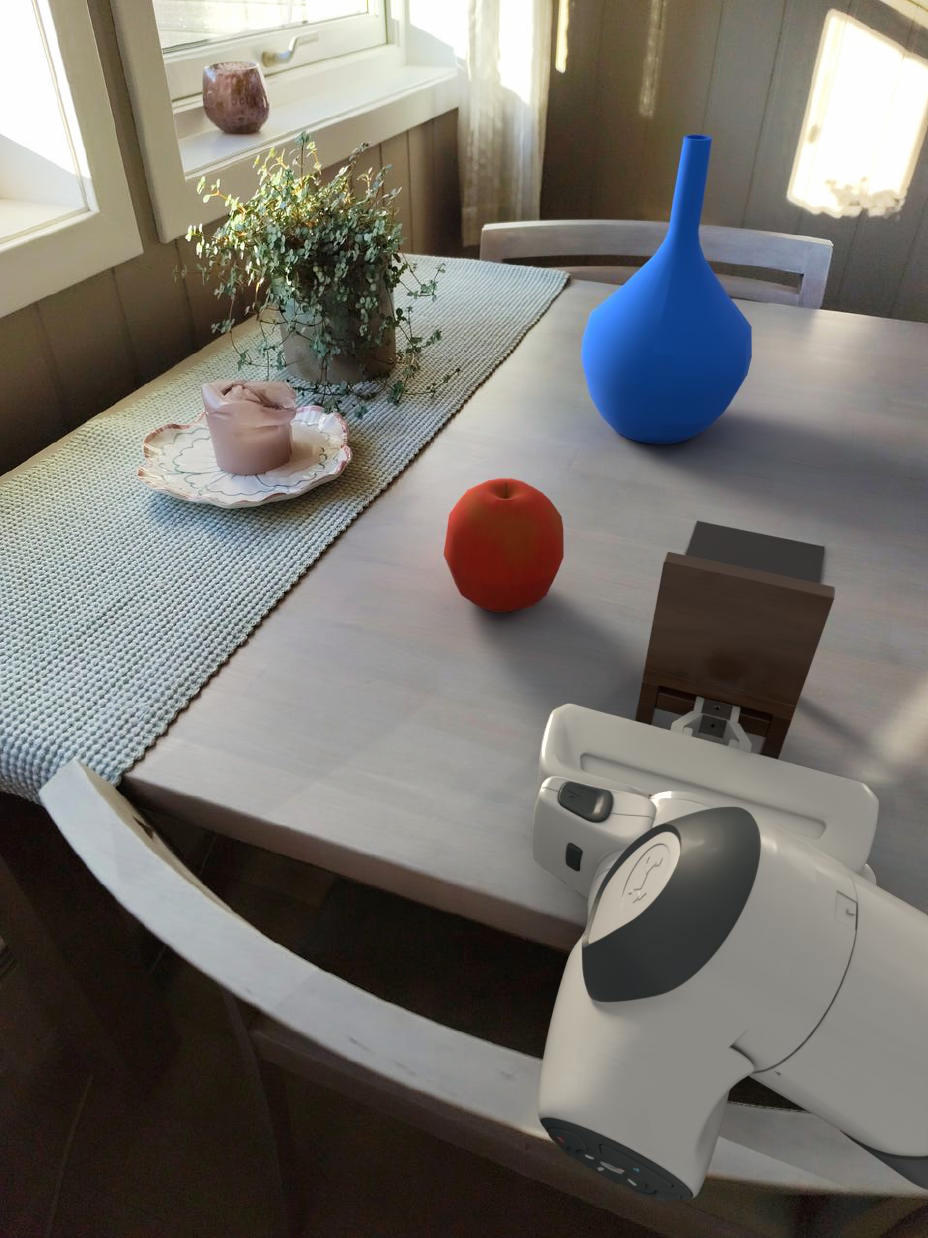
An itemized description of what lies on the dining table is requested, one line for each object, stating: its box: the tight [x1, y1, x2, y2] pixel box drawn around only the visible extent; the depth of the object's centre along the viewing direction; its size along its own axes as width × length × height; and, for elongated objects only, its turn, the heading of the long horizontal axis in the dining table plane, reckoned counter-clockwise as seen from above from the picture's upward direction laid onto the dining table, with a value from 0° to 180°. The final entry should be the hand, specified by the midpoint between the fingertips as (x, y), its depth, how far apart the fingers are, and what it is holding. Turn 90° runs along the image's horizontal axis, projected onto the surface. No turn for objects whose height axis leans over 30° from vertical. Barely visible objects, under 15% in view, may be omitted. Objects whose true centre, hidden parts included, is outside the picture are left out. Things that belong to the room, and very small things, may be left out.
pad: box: [685, 520, 825, 584], centre depth 79 cm, size 12×12×1 cm
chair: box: [634, 551, 836, 760], centre depth 60 cm, size 10×10×16 cm
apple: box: [443, 477, 565, 613], centre depth 73 cm, size 10×10×12 cm
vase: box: [580, 134, 753, 445], centre depth 91 cm, size 18×18×30 cm
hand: (716, 708), depth 59 cm, fingers closed, pressing on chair
